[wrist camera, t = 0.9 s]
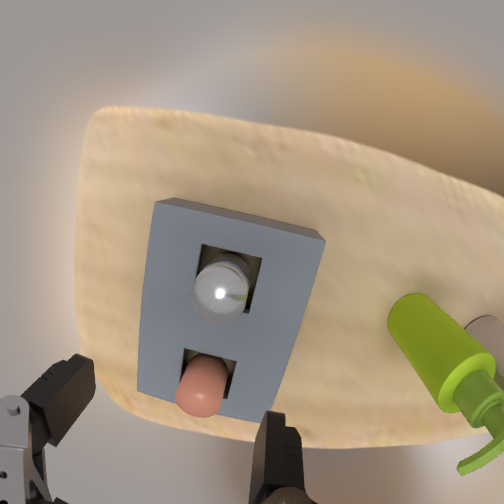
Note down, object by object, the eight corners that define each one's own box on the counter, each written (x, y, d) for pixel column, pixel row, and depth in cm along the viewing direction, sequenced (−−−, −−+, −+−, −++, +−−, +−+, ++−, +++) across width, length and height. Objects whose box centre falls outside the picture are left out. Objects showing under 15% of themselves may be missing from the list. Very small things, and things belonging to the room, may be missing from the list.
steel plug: (255, 259, 25) (251, 278, 21) (245, 302, 26) (239, 329, 22) (208, 248, 25) (194, 264, 21) (200, 291, 26) (185, 316, 22)
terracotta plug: (231, 358, 28) (224, 390, 23) (224, 388, 29) (216, 421, 24) (191, 348, 28) (176, 378, 23) (186, 379, 29) (173, 410, 24)
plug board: (316, 230, 29) (325, 241, 24) (266, 395, 33) (264, 424, 28) (173, 197, 29) (154, 201, 24) (151, 366, 33) (137, 391, 29)
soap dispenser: (370, 322, 30) (452, 465, 11) (420, 282, 29) (541, 388, 10) (394, 355, 31) (468, 487, 12) (440, 318, 30) (542, 426, 10)
